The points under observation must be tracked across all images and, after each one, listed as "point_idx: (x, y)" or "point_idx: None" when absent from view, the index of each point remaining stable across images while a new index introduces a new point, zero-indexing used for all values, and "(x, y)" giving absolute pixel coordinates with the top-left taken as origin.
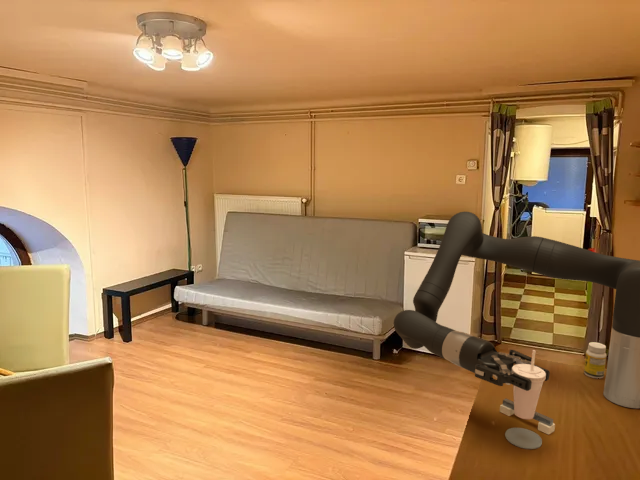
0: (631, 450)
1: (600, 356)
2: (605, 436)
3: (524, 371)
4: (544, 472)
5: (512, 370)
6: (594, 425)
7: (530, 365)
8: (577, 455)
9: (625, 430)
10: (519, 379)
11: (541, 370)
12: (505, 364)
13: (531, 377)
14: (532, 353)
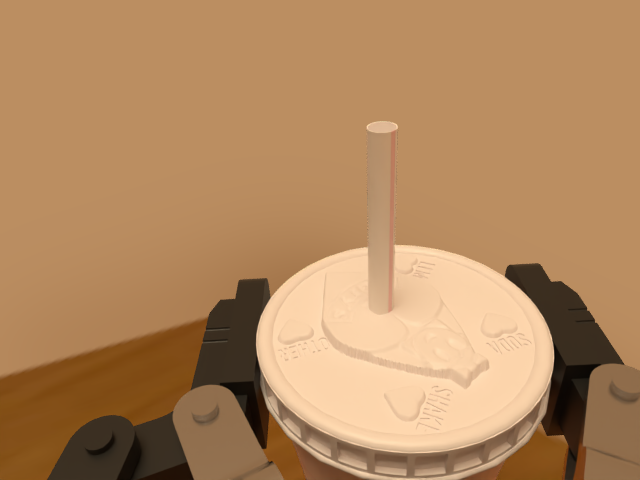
0: (139, 342)
1: None
2: (95, 413)
3: (458, 326)
4: None
5: (513, 430)
6: (22, 471)
7: (281, 367)
8: None
9: (4, 395)
10: (574, 319)
11: (294, 291)
12: (586, 463)
13: (483, 267)
14: (393, 162)
